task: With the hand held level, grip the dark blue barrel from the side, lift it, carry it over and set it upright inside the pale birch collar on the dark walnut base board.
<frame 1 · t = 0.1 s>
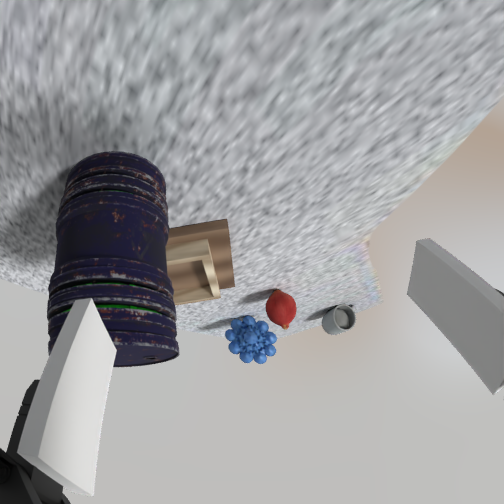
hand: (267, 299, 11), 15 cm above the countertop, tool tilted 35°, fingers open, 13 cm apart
onion: (276, 289, 58), on the countertop
grapes: (246, 314, 70), on the countertop
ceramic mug: (338, 307, 84), on the countertop
base board: (159, 267, 40), on the countertop
dark blue barrel: (115, 188, 25), on the countertop
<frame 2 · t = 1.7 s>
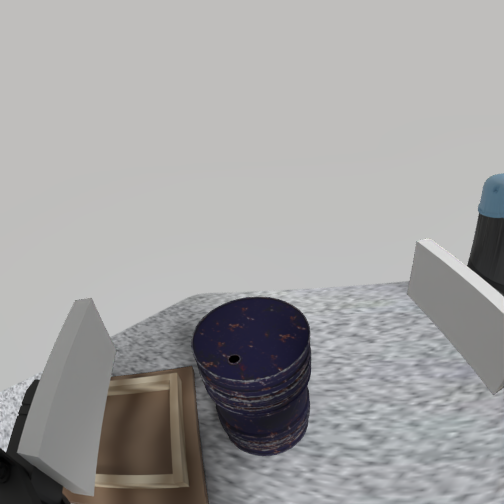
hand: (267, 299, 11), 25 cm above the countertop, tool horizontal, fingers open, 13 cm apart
base board: (129, 438, 29), on the countertop
dark blue barrel: (266, 421, 31), on the countertop
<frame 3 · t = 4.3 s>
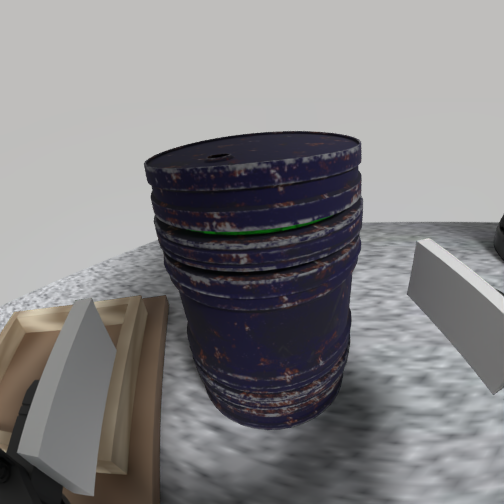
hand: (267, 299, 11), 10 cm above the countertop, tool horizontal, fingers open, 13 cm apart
base board: (60, 390, 18), on the countertop
dark blue barrel: (273, 373, 20), on the countertop
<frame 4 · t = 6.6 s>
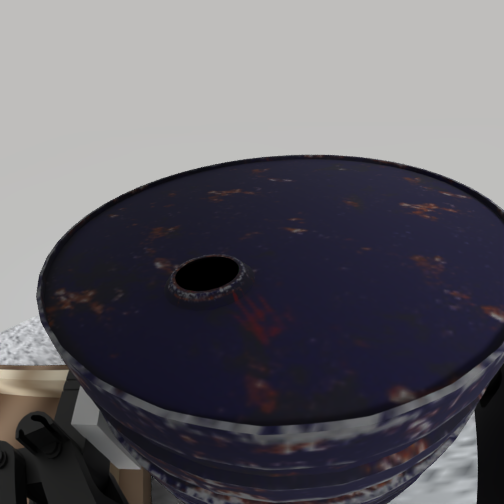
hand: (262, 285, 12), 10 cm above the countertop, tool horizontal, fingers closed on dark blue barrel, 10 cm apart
base board: (34, 474, 11), on the countertop
dark blue barrel: (291, 475, 13), on the countertop, touching gripper
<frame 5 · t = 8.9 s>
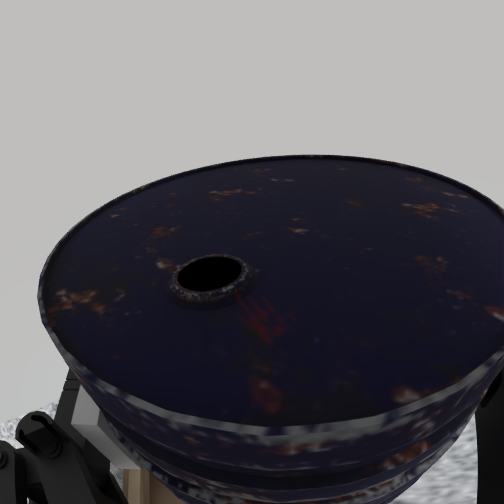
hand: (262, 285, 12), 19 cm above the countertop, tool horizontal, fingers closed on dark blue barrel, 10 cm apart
dark blue barrel: (292, 475, 13), point 8 cm above the countertop, touching gripper
when the fingers open (13 cm above the countertop, at t = 11.5 s): dark blue barrel drops 1 cm, resting on base board.
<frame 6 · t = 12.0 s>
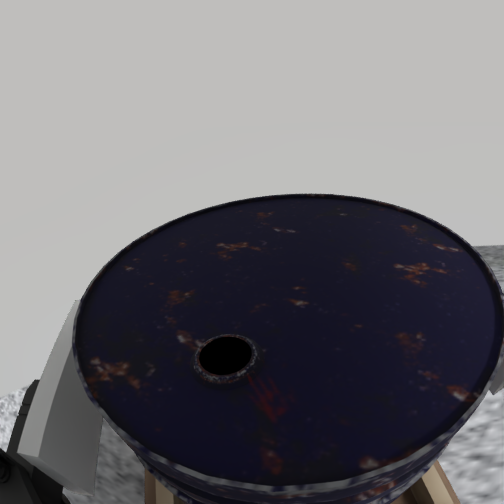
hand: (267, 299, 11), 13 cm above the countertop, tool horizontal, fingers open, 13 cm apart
base board: (291, 486, 14), on the countertop
dark blue barrel: (293, 482, 14), point 1 cm above the countertop, touching base board
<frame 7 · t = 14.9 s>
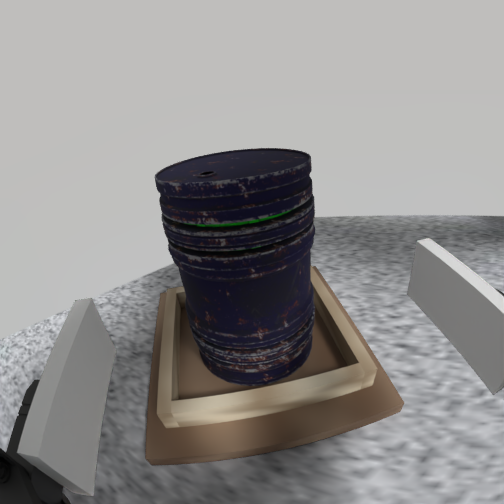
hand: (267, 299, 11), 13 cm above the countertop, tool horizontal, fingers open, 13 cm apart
base board: (255, 351, 26), on the countertop
dark blue barrel: (255, 343, 25), point 1 cm above the countertop, touching base board
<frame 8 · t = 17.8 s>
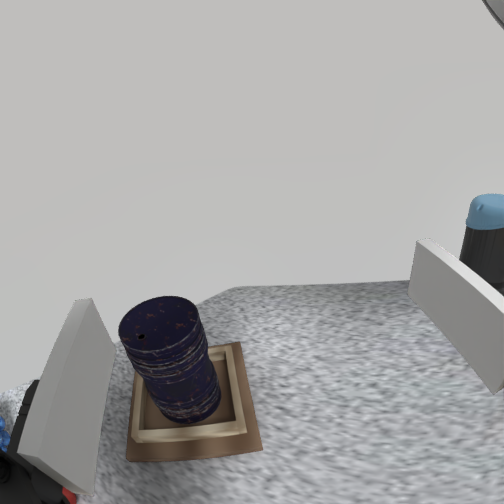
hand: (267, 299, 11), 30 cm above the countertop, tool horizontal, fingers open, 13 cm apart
grapes: (11, 457, 26), on the countertop
base board: (190, 401, 40), on the countertop
dark blue barrel: (189, 397, 39), point 1 cm above the countertop, touching base board
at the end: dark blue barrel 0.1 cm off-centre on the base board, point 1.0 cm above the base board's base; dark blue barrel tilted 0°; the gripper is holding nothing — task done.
